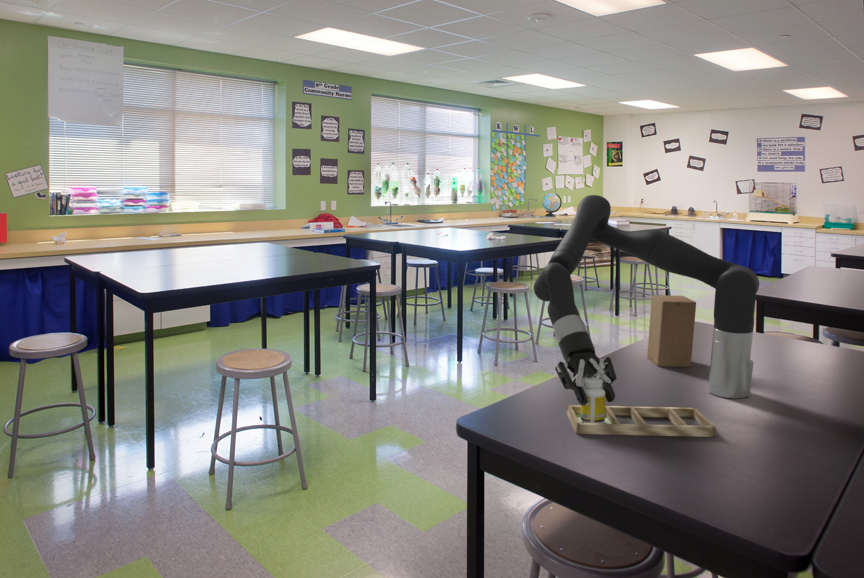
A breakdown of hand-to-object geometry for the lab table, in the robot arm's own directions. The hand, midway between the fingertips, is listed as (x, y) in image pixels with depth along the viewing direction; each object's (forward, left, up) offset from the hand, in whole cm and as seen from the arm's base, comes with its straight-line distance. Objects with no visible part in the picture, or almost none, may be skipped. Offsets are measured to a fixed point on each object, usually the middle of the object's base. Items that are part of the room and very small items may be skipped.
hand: (598, 402), depth 138 cm
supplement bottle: (+1, -2, -6) cm, 6 cm away
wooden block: (-34, -52, -6) cm, 62 cm away
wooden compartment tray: (-10, -2, -6) cm, 11 cm away
